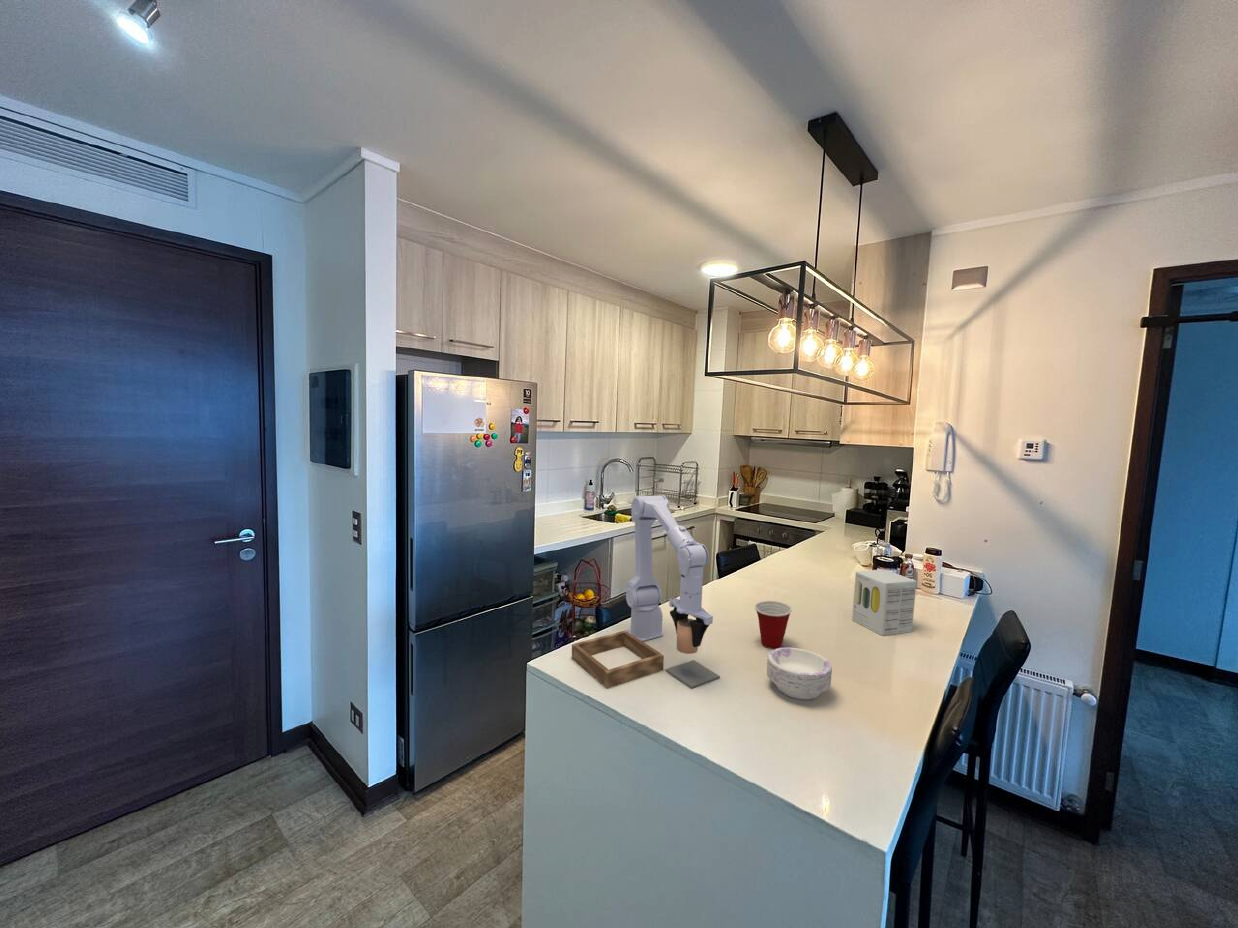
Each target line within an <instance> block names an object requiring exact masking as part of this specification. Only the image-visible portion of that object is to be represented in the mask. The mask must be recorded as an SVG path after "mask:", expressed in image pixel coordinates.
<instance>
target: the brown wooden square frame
mask: <svg viewBox="0 0 1238 928" xmlns="http://www.w3.org/2000/svg"><path fill="white" fill-rule="evenodd" d="M621 647H625V648H626V649H627V650H628V651H630V652H632V653H633V654H635V655H636V656H637V657H639V658H640V659H639V660H635V661H633V662H629V663H626V664H623V665H619V666H617V667H613V668H608V667H606V666H605V665H603V664H602V663H601V662H600V661H599V660H597V659H596V658H595V657H594V656H593V655H596V654H599V653H603V652H607V651H611V650H614V649H617V648H621ZM664 657H665V655H664V654H662V653H661V652H660V651H658V650H657V649H656V648H655V649H654V648H653V647H652V646H651V645H649V644H647V643H646V642H645V641H641V640H639V639H638V638H636V637H635V636H633V635H632V634H630V633H628V632H627V630H622V631H617V632H614V633H610V634H606V635H602V636H599V637H594V638H592V639H591V638H590V639H587V640H586V639H585V640H584V641H579V642H576V643H572V644H571V659H572V660H573V661H574V662H576V663H577V664H578V665H579V666H580V667H581V668H582V669H584V670H585V671H586V672H587V673H588V674H589V675H590V676H591V677H593V678H594V679H595V680H596V679H597V680H598V682H599V684H601V685H602V684H603V685H604V686H605V687H604V686H603V685H602V686H603V687H604V688H605V689H609V687H610V688H612V686H613V687H616V686H619V685H622V684H625V683H628V682H630V680H631V681H634V680H637V679H641V678H643V677H646V676H648V675H651V674H654V673H657V672H661V671H664V664H665V663H664V662H665V661H664V660H665V658H664ZM597 680H596V681H597ZM618 684H619V685H618ZM615 685H616V686H615Z"/></svg>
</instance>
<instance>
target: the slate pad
mask: <svg viewBox="0 0 1238 928" xmlns="http://www.w3.org/2000/svg"><path fill="white" fill-rule="evenodd" d="M665 673H668V674H669V675H670V676H671V677H673V678H675V679H676V680H677V681H679V682H681V684H683V685H685V686H687V688H689V689H691V690H693V689H696V688H698V687H700V686H704V685H706V684H710V683H711V682H713V681H717V680H719V679H721V676H720V674H718V673H716V672H714V671H713V670H711V669H709V668H707V667H706V666H705V665H703V664H702V663H699V662H698V661H697V660H694V659H693V660H690V661H687V662H684V663H681V664H677V665H674V666H672V667H669V668H666V669H665Z"/></svg>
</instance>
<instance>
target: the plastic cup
mask: <svg viewBox="0 0 1238 928" xmlns="http://www.w3.org/2000/svg"><path fill="white" fill-rule="evenodd" d="M754 610H755V612H756V614H757V618H758V627H759V634H760V640H761V646H763V647H766V648H768V649H771V650H774V649H778V648H782V646H783V641H784V638H785V634H786V631H787V627H788V622H789V618H790V615H791V613H792V612H793V609H792V607H791V606H790V605H789V604H787V603H785V602H782V601H777V600H762V601H757V602H756V603H755V604H754Z"/></svg>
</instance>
